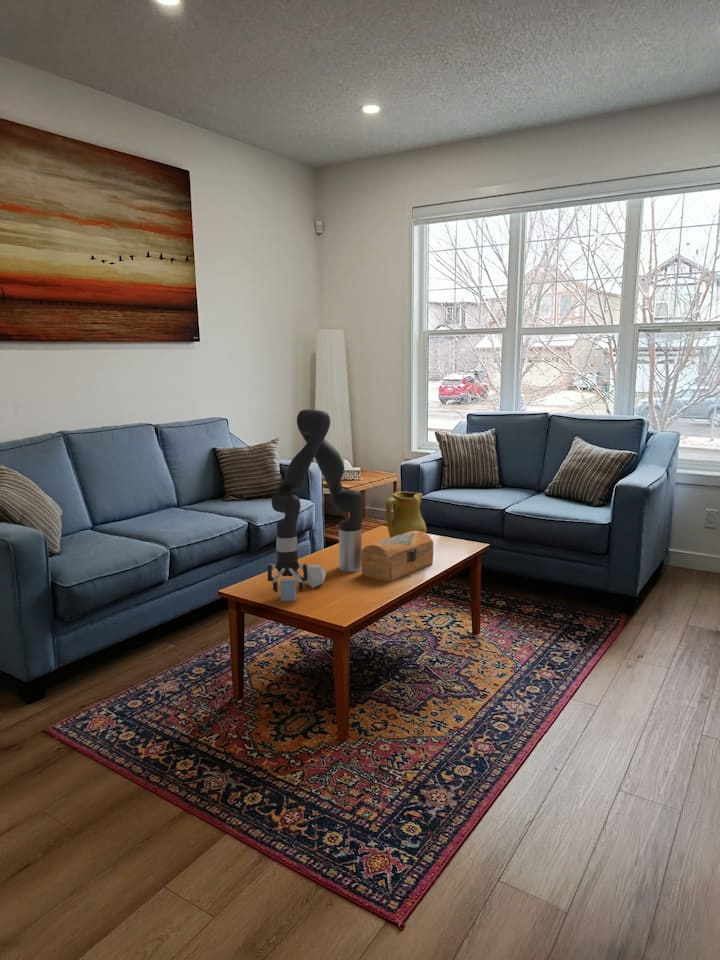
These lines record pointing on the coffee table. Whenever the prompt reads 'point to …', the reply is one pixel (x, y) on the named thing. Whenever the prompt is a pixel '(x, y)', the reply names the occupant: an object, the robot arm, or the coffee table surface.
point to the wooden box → (397, 556)
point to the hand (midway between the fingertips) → (288, 591)
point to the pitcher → (405, 513)
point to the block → (288, 589)
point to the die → (315, 575)
